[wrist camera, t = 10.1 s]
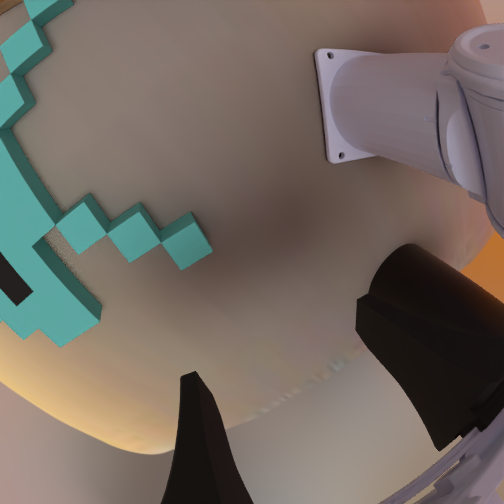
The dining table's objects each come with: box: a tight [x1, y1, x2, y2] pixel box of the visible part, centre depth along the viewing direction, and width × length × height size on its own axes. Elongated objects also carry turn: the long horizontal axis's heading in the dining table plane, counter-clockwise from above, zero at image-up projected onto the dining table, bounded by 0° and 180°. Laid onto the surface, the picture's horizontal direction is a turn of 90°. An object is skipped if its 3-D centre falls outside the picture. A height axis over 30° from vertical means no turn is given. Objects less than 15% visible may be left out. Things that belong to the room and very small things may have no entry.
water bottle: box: [369, 244, 504, 338], centre depth 18 cm, size 10×10×23 cm
